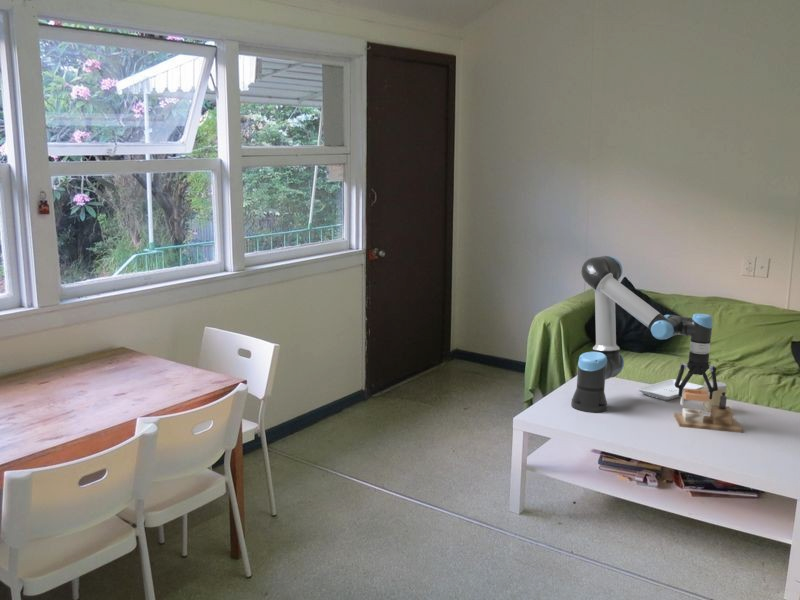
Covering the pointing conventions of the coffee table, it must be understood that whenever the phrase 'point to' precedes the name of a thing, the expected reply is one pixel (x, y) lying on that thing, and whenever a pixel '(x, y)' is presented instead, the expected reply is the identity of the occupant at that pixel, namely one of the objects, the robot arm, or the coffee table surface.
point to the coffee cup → (714, 394)
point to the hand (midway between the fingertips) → (694, 405)
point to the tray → (665, 394)
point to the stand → (710, 418)
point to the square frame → (696, 395)
